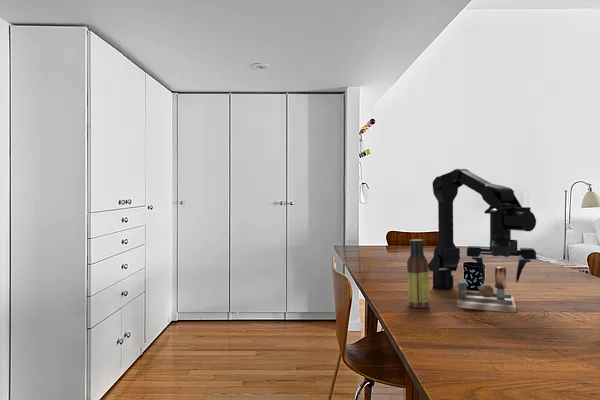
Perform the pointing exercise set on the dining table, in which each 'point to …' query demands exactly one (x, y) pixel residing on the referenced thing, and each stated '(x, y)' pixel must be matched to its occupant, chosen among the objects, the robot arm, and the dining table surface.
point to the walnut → (486, 290)
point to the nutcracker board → (483, 300)
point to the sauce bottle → (418, 276)
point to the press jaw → (500, 281)
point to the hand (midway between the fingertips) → (500, 281)
